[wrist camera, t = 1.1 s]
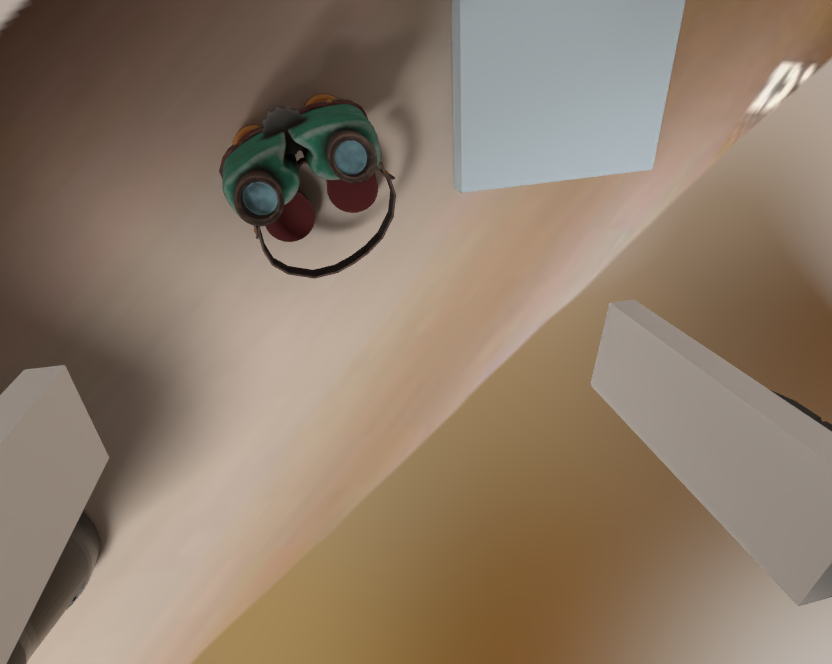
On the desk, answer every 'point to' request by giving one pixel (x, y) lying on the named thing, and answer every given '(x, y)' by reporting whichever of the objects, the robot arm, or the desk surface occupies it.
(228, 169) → the binoculars
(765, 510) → the robot arm
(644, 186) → the desk surface
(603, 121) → the board
